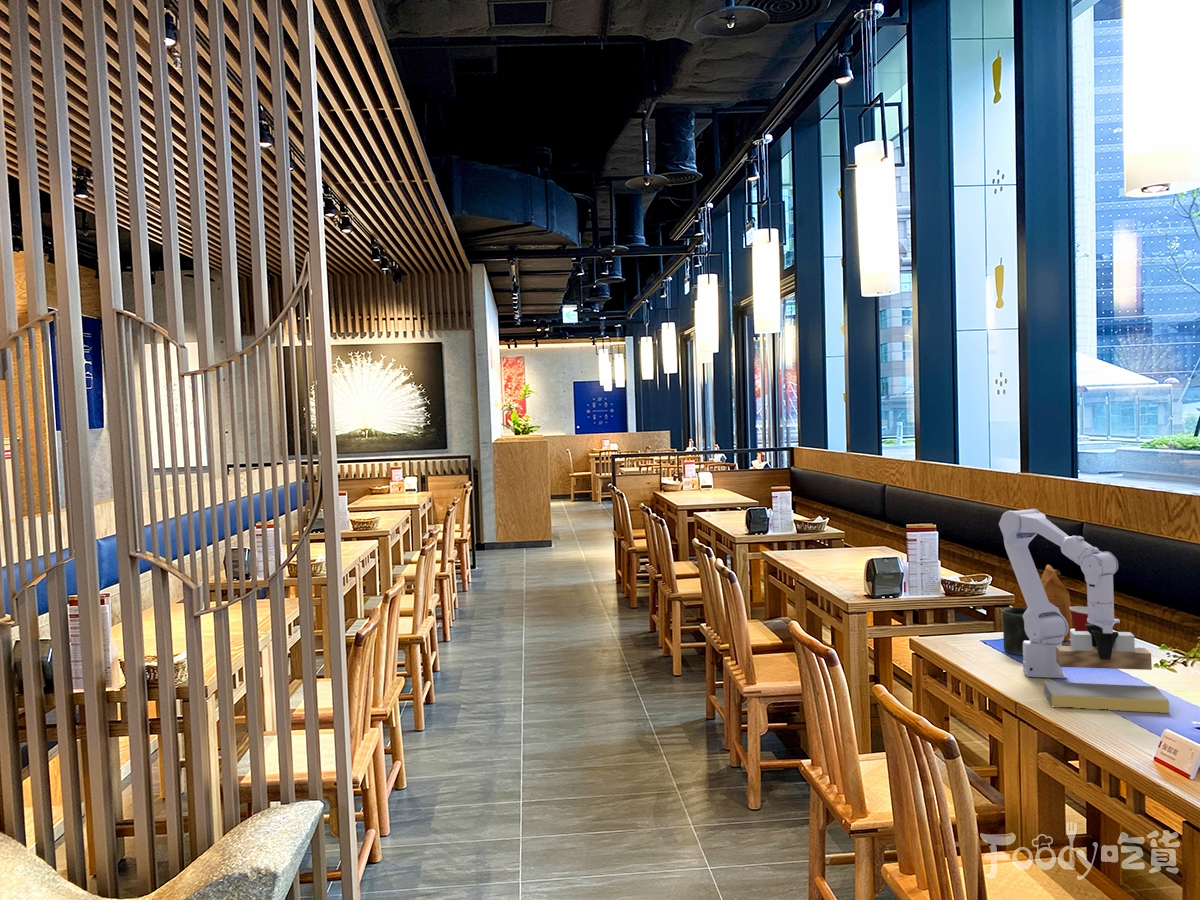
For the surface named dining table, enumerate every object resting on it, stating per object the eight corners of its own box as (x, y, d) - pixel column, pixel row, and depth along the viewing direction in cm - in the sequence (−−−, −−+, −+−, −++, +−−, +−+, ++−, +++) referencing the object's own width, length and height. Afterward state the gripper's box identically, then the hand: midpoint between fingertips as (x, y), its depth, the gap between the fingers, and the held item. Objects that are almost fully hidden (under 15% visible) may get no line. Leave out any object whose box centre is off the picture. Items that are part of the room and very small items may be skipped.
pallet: (1060, 667, 224) (1059, 650, 224) (1056, 661, 230) (1055, 645, 230) (1151, 669, 218) (1151, 653, 218) (1145, 664, 224) (1144, 647, 224)
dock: (1052, 707, 212) (1051, 694, 212) (1044, 693, 223) (1044, 681, 223) (1169, 713, 205) (1168, 700, 205) (1155, 698, 216) (1154, 686, 216)
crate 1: (1074, 650, 224) (1073, 634, 224) (1070, 646, 228) (1070, 631, 228) (1092, 651, 223) (1091, 634, 223) (1088, 647, 227) (1087, 631, 227)
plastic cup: (1120, 653, 258) (1119, 611, 258) (1082, 654, 258) (1080, 612, 258) (1099, 644, 269) (1098, 604, 268) (1063, 645, 269) (1061, 605, 269)
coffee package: (1066, 633, 283) (1064, 563, 283) (1074, 643, 272) (1072, 570, 271) (1031, 632, 287) (1029, 563, 286) (1037, 641, 275) (1035, 569, 274)
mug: (1005, 656, 260) (1004, 614, 260) (997, 644, 274) (996, 604, 274) (1047, 657, 257) (1045, 615, 257) (1036, 645, 271) (1035, 605, 271)
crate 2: (1116, 651, 221) (1115, 635, 221) (1112, 647, 225) (1111, 631, 225) (1134, 652, 220) (1134, 635, 220) (1130, 648, 224) (1129, 632, 224)
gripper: (1126, 607, 216) (1127, 664, 216) (1111, 596, 230) (1113, 649, 230) (1093, 606, 218) (1094, 663, 218) (1080, 596, 232) (1082, 648, 232)
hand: (1102, 656), depth 224 cm, fingers closed on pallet, 6 cm apart
